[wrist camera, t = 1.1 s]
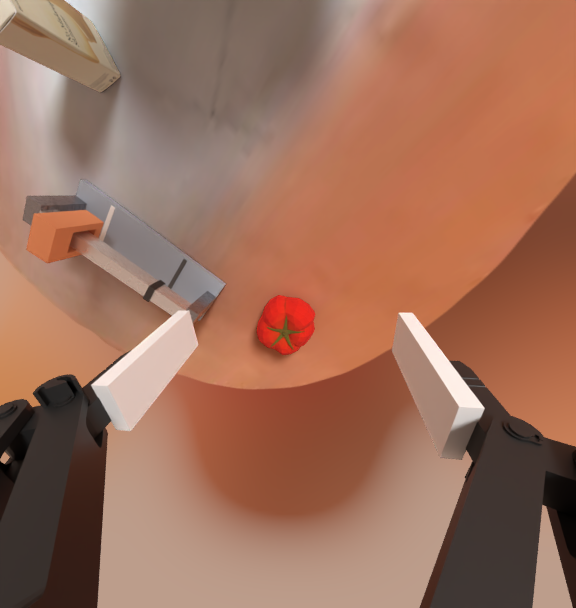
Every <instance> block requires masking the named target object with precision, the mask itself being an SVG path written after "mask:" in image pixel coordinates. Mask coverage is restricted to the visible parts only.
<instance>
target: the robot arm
mask: <svg viewBox="0 0 576 608" xmlns="http://www.w3.org/2000/svg"><path fill="white" fill-rule="evenodd" d="M197 346H198V342H197V338H196V334H195V330H194V327H193V323H192V319H191V315H190V312H189V311H180V310H178V311H177V312H176V313H175V314H174V315H173V316H171V317H170V318H169V319H168V320H167V321H166V322H164V323H163V324H162V325H161V326H160V327H159V328H157V329H156V330H155V331H154V332H153V333H151V334H150V335H149V336H148V337H147V338H146V339H144V340H143V341H142V342H141V343H140V344H139V345H137V346H136V347H135V348H134V349H133V350H131V351H129V352H127V353H125V354H124V355H122V356H120V357H119V358H118V359H117V360H116V361H114V362H113V364H111V365H110V366H109V367H107V368H106V370H104V371H103V372H101V373H100V374H99V375H98V376H97V377H95V378H94V379H93V380H92V381H90V382H89V383H88V384H87V385H86V386H84V387H83V388H82V387H81V386H80V384H79V382H78V381H77V379H76V377H75V376H73V375H63V376H59V377H56V378H53V379H51V380H49V381H47V382H46V383H44V384H42V385H41V386H39V387H38V388H37V389H36V390H35V391H34V392H33V395H34V396H35V397H36V399H37V400H38V401H39V403H40V404H41V406H36V407H32V406H31V405H30V404H29V402H28V401H27V400H24V399H20V400H15V401H12V402H8V403H5V404H4V405H1V406H0V458H1V456H2V454H3V453H4V452H6V453H7V454H8V455H9V456H10V458H9V459H8V461H7V462H6V463H5V464H3V463H2V462H1V461H0V608H97V602H98V586H99V569H100V553H101V535H102V519H103V503H104V502H103V501H104V485H105V470H106V453H107V452H106V451H107V436H108V433H107V430H106V428H105V427H106V426H107V425H108V424H109V423H110V422H112V423H113V425H114V427H115V429H116V430H125V431H131V430H132V429H133V428H134V427H135V425H136V424H137V423H138V421H139V420H140V419H141V418H142V416H143V415H144V414H145V412H146V411H147V410H148V409H149V407H150V406H151V405H152V403H153V402H154V401H155V400H156V398H157V397H158V396H159V395H160V393H161V392H162V391H163V390H164V388H165V387H166V385H167V384H168V383H169V382H170V380H171V379H172V378H173V377H174V375H175V374H176V373H177V372H178V370H179V369H180V368H181V367H182V365H183V364H184V363H185V361H186V360H187V359H188V358H189V356H190V355H191V354H192V352H193V351H194V350H195V349H196V347H197ZM392 352H393V354H394V357H395V359H396V361H397V363H398V365H399V367H400V370H401V372H402V374H403V377H404V379H405V381H406V383H407V385H408V387H409V390H410V392H411V394H412V397H413V399H414V401H415V403H416V405H417V407H418V410H419V412H420V414H421V417H422V419H423V421H424V423H425V425H426V428H427V430H428V432H429V434H430V437H431V439H432V441H433V443H434V445H435V448H436V450H437V452H438V454H439V456H440V458H448V459H459V460H462V458H463V455H464V454H465V452H466V450H467V452H468V453H469V455H470V457H471V459H472V460H473V462H472V464H471V466H470V468H469V470H468V472H467V474H466V476H465V478H466V480H465V482H464V485H463V488H462V491H461V493H460V496H459V499H458V502H457V505H456V508H455V510H454V513H453V516H452V519H451V521H450V524H449V527H448V530H447V533H446V535H445V539H444V541H443V544H442V547H441V549H440V552H439V555H438V558H437V561H436V564H435V566H434V569H433V572H432V575H431V577H430V580H429V583H428V586H427V588H426V592H425V595H424V597H423V600H422V603H421V605H420V608H532V605H533V594H534V584H535V573H536V563H537V554H538V543H539V533H540V522H541V512H542V505H545V506H546V507H547V510H548V514H549V518H550V522H551V526H552V529H553V533H554V537H555V541H556V545H557V549H558V552H559V556H560V560H561V563H562V568H563V571H564V575H565V579H566V583H567V587H568V590H569V594H570V598H571V602H572V606H573V608H576V447H575V446H571V445H568V444H564V443H561V442H558V441H554V440H551V439H548V438H545V437H543V435H542V434H541V433H540V432H539V431H538V430H537V429H535V428H534V427H533V426H532V425H530V424H528V423H527V422H525V421H523V420H521V419H518V418H516V417H513V416H510V414H509V413H508V412H507V411H506V410H505V409H504V407H503V406H502V405H501V404H500V403H499V402H498V400H497V399H496V398H495V397H494V396H493V394H492V393H491V392H490V391H489V390H488V389H487V388H486V387H485V385H484V384H483V383H482V381H481V380H479V378H478V377H477V375H476V374H475V373H474V372H473V371H472V370H471V369H470V368H469V367H467V366H466V365H464V364H463V363H461V362H460V361H448V359H447V358H446V357H445V355H444V354H443V353H442V351H441V350H440V349H439V347H438V346H437V345H436V343H435V342H434V341H433V339H432V338H431V337H430V335H429V334H428V333H427V331H426V330H425V329H424V327H423V326H422V325H421V323H420V322H419V321H418V319H417V318H416V317H415V316H414V314H413V313H398V319H397V325H396V331H395V336H394V342H393V348H392Z"/></svg>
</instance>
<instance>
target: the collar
mask: <svg viewBox="0 0 576 608" xmlns="http://www.w3.org/2000/svg"><path fill="white" fill-rule="evenodd" d="M103 224H104V222H103V221H101V220H100V219H99V218H97V217H96V216H94V215H93V214H92V213H90V212H89V211H87V210H77V211H62V212H48V213H34V215H33V220H32V225H31V230H30V234H29V239H28V244H27V249H26V250H28V251H29V252H31V253H32V254H34V255H35V256H37V257H38V258H40V259H41V260H43V261H44V262H46V263H51V262H55V261H59V260H63V259H66V258H70V257H74V256H78V255H82V254H80V253H79V252H77V251H76V250H74V249H73V248H71V247H70V246H69V245H70V242H71V238H72V235H73V233H74V232H81V231H89V232H90V233H91V234H93V235H94V236H96V237H97V238H99V235H100V233H101V230H102V227H103Z"/></svg>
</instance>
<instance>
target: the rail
mask: <svg viewBox="0 0 576 608" xmlns="http://www.w3.org/2000/svg"><path fill="white" fill-rule="evenodd" d="M86 205H87V203H85V202H84V201H83V200H81V199H80V198H78V197H77V196H27V199H26V204H25V210H24V215H23V220H24V221H25V222H27V223H28V224H30V225H32V220H33V215H34V213H48V212H62V211H77V210H85V209H86ZM69 246H70V247H71V248H73V249H74V250H76V251H77V252H79V253H80V254H82V255H83V256H85V257H86V258H87V259H89V260H90V261H92V262H93V263H95V264H96V265H98V266H99V267H101V268H102V269H104V270H105V271H107V272H108V273H110V274H111V275H113V276H114V277H116V278H117V279H118V280H120V281H121V282H123V283H124V284H126V285H127V286H129V287H130V288H132V289H133V290H135V291H136V292H138V293H139V294H141V295H142V296H143V299H145V300H146V301H148V302H149V301H151V302H152V303H154V304H155V305H157V306H158V307H160V308H161V309H163V310H164V311H166V312H167V313H169V314H170V315H172V316H173V315H174V314H175V313H176V312H177V311H178V310H180V311H189V312H190V315H191V319H192V323H193V324H194V323H195V322H196V321H197V320H198V319H199V318H200V317H201V316H202V315H203V314H204V313H205V312H206V311H207V309H208V308H209V307H210V305H211V304H212V302H213V301H214V300H215V298H216V297H215V296H214V295H213V294H211V293H210V292H209V291H206V292H205V293H204V294H203V295H202V296H200V297H199V298H198V299H197V300H196V301H195V302H194V303H192V304H191V303H190V302H189V301H187V300H186V299H184V298H183V297H181V296H180V295H179V294H177V293H176V292H174V291H173V290H171V289H170V288H169V287H167V286H166V285H165V284H166V283H164V282H163V281H162V280H157V279H156V278H154V277H153V276H151V275H150V274H149V273H147V272H146V271H144V270H143V269H141V268H140V267H139V266H137V265H136V264H134V263H133V262H131V261H130V260H129V259H127V258H126V257H124V256H123V255H121V254H120V253H119V252H117V251H116V250H114V249H113V248H111V247H110V246H109V245H107V244H106V243H104V242H103V241H101V240H100V239H99V238H97V237H96V236H94V235H93V234H91V233H90V232H89V231H81V232H74V233H73V235H72V238H71V242H70V245H69Z"/></svg>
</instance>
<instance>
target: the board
mask: <svg viewBox="0 0 576 608" xmlns="http://www.w3.org/2000/svg"><path fill="white" fill-rule="evenodd" d="M76 196H77V197H78V198H80V199H81V200H83V201H84V202H85V203H87V205H86V209H85V210H87V211H89V212H90V213H92V214H93V215H94V216H96V217H97V218H99V219H100V220H101V221H103V222H104V224H103V227H102V230H101V233H100V235H99V239H100V240H101V241H103V242H104V243H106V244H107V245H109V246H110V247H111V248H113V249H114V250H116V251H117V252H119V253H120V254H121V255H123V256H124V257H126V258H127V259H129V260H130V261H131V262H133V263H134V264H136V265H137V266H139V267H140V268H141V269H143V270H144V271H146V272H147V273H149V274H150V275H151V276H153V277H154V278H156V279H157V280H162V281H163V282H164V283H166V284H165V285H166V286H167V287H169V288H170V289H171V290H173V291H174V292H176V293H177V294H179V295H180V296H181V297H183V298H184V299H186V300H187V301H189V302H190V303H191V304H192V303H194V302H195V301H196V300H197V299H198V298H199V297H200V296H202V295H203V294H204V293H205V292H206V291H209V292H210V293H211V294H213V295H214V296H215V297H216V298H217V296H218V295H219V293H220V292H221V290H222V289H223V288H224V286H225V285H226V283H224V282H223V281H222V280H220V279H219V278H218V277H216V276H215V275H214V274H212V273H211V272H210V271H208V270H207V269H205V268H204V267H203V266H201V265H200V264H199V263H197V262H196V261H195V260H193V259H192V258H191V257H189V256H188V255H187V254H185V253H184V252H183V251H181V250H180V249H178V248H177V247H176V246H174V245H173V244H172V243H170V242H169V241H168V240H166V239H165V238H164V237H162V236H161V235H160V234H158V233H157V232H156V231H154V230H153V229H152V228H150V227H149V226H147V225H146V224H145V223H143V222H142V221H141V220H139V219H138V218H137V217H135V216H134V215H133V214H131V213H130V212H129V211H127V210H126V209H125V208H123V207H122V206H121V205H119V204H118V203H116V202H115V201H114V200H112V199H111V198H110V197H108V196H107V195H106V194H104V193H103V192H102V191H100V190H99V189H98V188H96V187H95V186H94V185H92V184H91V183H90V182H88V181H87V180H81V179H80V182H79V186H78V189H77V193H76ZM216 298H215V299H216ZM213 302H214V301H213ZM213 302H212V303H213ZM211 305H212V304H211ZM211 305H210V306H211ZM208 309H209V308H208ZM208 309H207V310H208ZM206 312H207V311H206ZM206 312H205V313H206ZM205 313H204V314H205ZM204 314H203V315H202V316H201V317H200V318H199V319H198V321H200V320H201V319H202V317H203V316H204Z"/></svg>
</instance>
